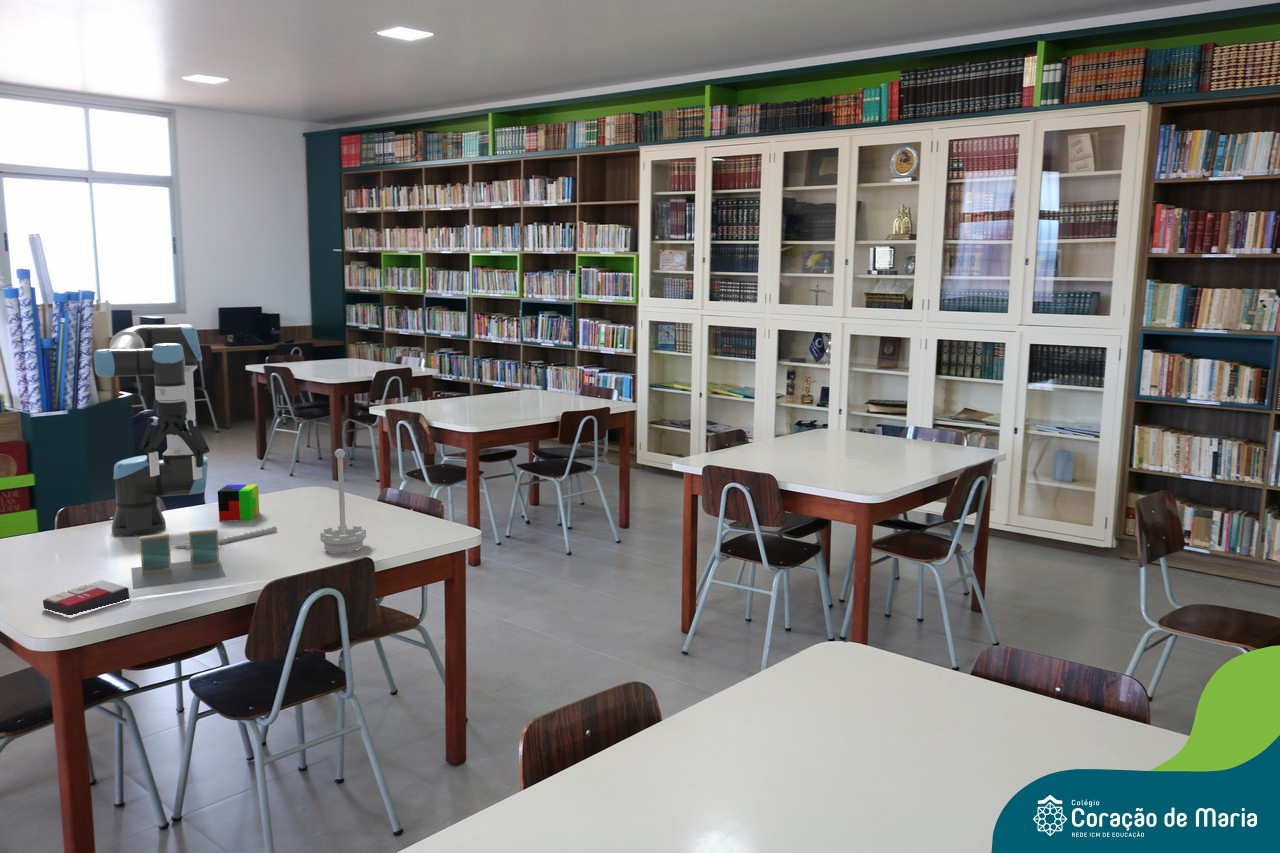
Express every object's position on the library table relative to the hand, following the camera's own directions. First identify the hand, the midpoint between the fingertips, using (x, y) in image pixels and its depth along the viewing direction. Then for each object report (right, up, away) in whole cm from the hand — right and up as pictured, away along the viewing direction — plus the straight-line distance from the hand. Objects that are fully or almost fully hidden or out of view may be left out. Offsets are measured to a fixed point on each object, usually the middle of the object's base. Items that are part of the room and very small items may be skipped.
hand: (176, 477), depth 261 cm
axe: (+3, -22, +28) cm, 35 cm away
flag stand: (+39, -22, +23) cm, 50 cm away
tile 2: (+7, -25, +2) cm, 26 cm away
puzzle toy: (-7, -17, +57) cm, 60 cm away
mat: (+3, -26, -4) cm, 26 cm away
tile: (-3, -25, -4) cm, 26 cm away
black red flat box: (-8, -30, -29) cm, 43 cm away
